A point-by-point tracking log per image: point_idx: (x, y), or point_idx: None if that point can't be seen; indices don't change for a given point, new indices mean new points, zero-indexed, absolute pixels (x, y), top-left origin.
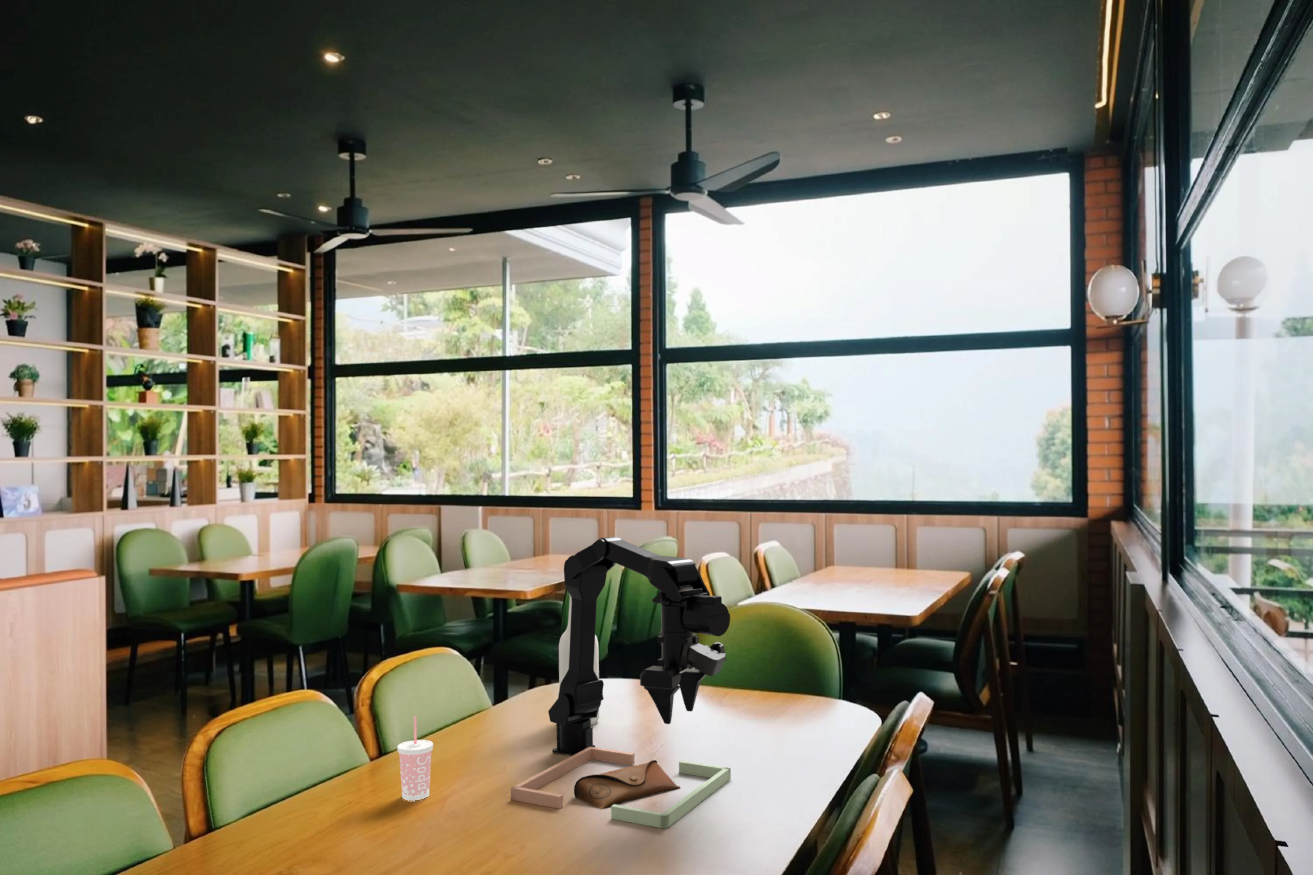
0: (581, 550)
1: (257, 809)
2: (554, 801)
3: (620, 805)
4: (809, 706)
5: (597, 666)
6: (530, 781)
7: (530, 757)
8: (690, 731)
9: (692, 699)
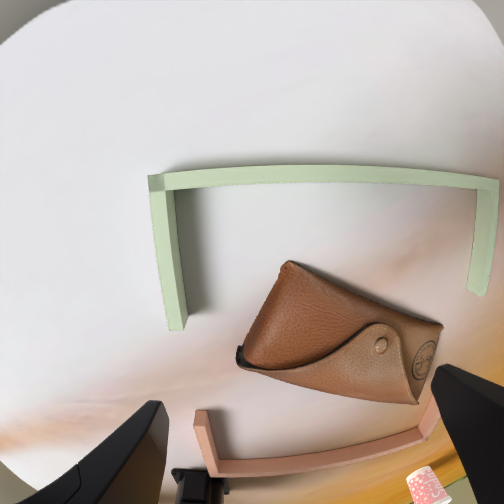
0: None
1: (444, 488)
2: None
3: (481, 283)
4: None
5: None
6: (399, 445)
7: (260, 495)
8: (11, 377)
9: (140, 450)
